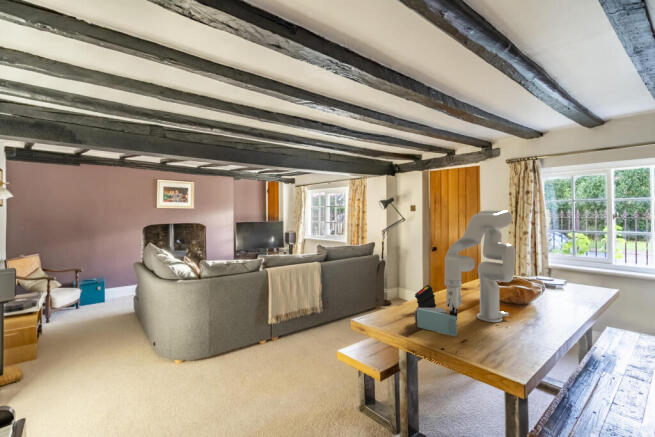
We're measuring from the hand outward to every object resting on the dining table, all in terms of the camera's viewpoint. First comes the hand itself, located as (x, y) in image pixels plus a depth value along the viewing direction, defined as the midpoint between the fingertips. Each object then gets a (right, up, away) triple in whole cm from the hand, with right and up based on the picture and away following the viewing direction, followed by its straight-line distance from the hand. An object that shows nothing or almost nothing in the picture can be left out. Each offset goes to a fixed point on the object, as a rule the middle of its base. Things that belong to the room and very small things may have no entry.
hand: (453, 319), depth 149 cm
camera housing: (-7, -7, +13) cm, 16 cm away
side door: (-8, -7, +3) cm, 11 cm away
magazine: (-3, -6, +35) cm, 35 cm away
